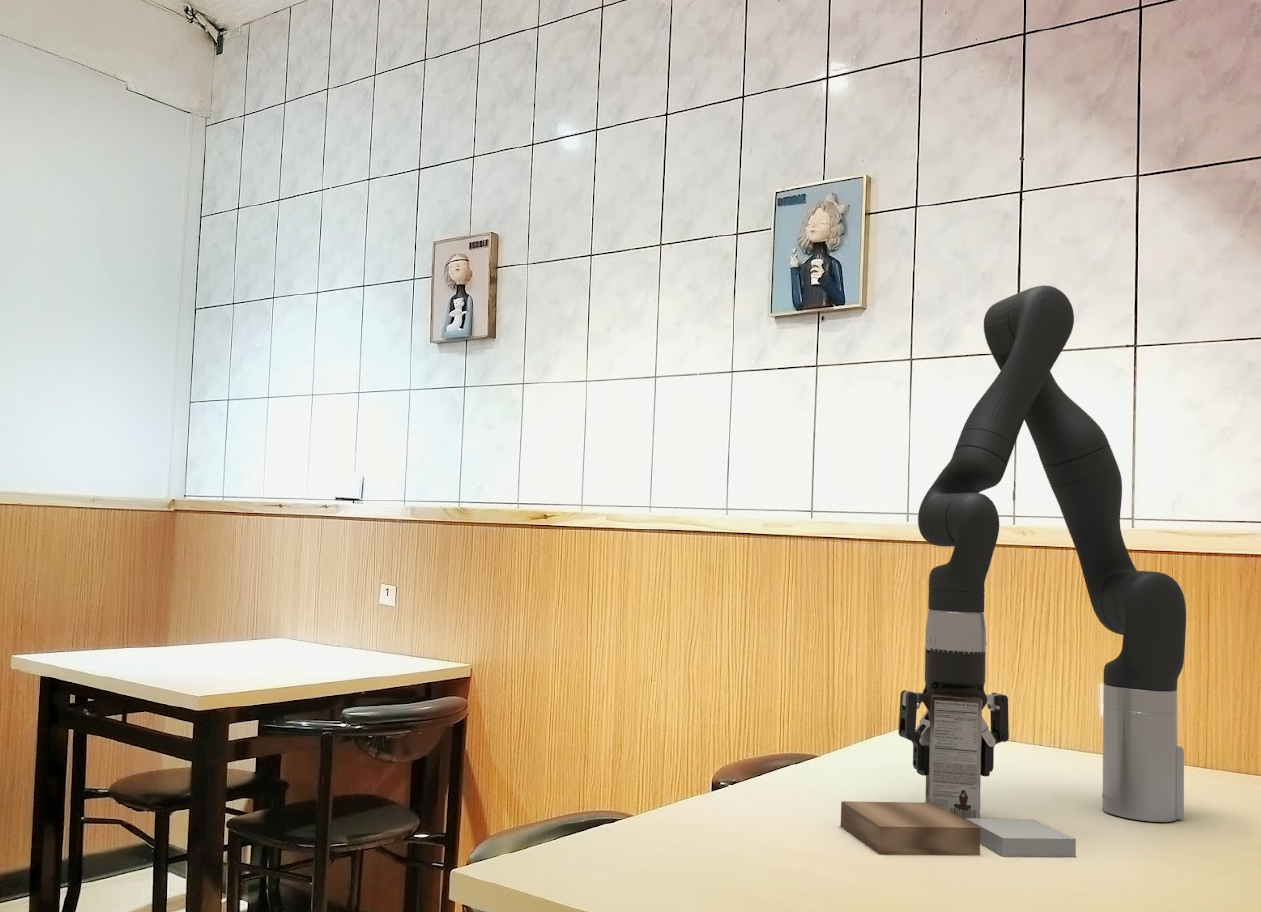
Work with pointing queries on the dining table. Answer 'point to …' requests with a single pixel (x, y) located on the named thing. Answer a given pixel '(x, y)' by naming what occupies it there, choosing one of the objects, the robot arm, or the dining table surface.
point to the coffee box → (955, 753)
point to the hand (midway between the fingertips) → (952, 774)
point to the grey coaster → (1023, 838)
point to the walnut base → (910, 828)
